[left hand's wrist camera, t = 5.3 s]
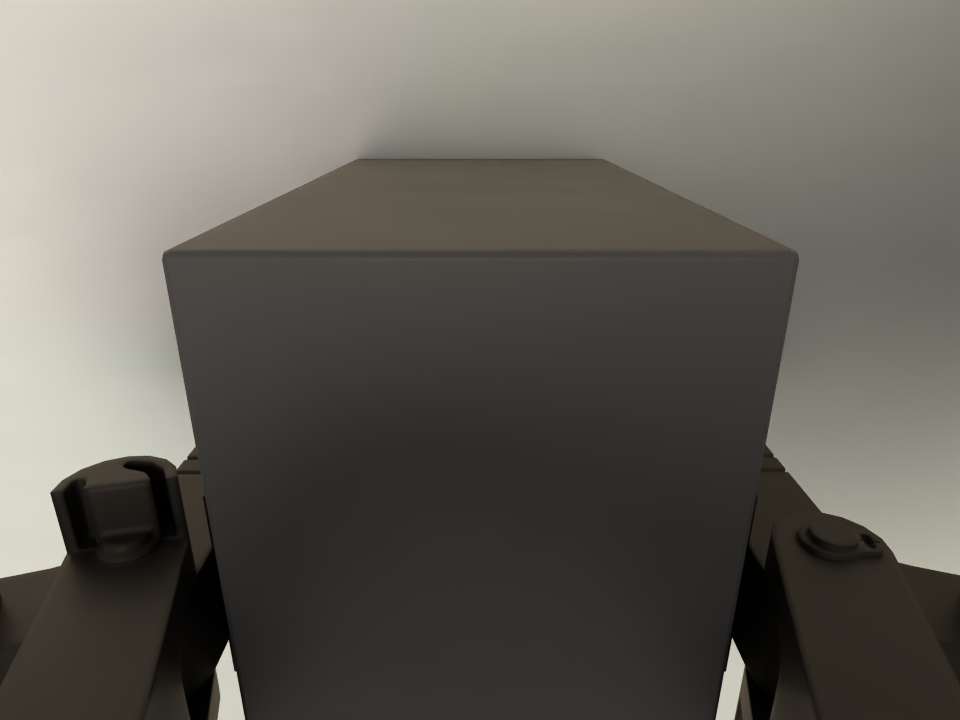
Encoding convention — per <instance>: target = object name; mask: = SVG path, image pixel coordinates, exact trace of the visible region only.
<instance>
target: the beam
mask: <svg viewBox="0 0 960 720" xmlns="http://www.w3.org/2000/svg"><path fill="white" fill-rule="evenodd" d="M162 262H163V267H164V273H165V278H166V284H167V289H168V295H169V300H170V306H171V311H172V317H173V322H174V328H175V333H176V339H177V344H178V350H179V356H180V361H181V367H182V372H183V378H184V383H185V389H186V394H187V400H188V405H189V411H190V416H191V422H192V427H193V433H194V439H195V444H196V450H197V455H198V461H199V466H200V472H201V477H202V483H203V488H204V494H205V499H206V505H207V510H208V516H209V521H210V527H211V533H212V538H213V544H214V549H215V555H216V560H217V566H218V571H219V577H220V582H221V588H222V593H223V599H224V604H225V610H226V616H227V621H228V627H229V632H230V638H231V643H232V649H233V654H234V660H235V665H236V671H237V676H238V682H239V687H240V693H241V698H242V704H243V710H244V715H245V720H715V719H716V713H717V708H718V702H719V697H720V691H721V686H722V680H723V675H724V669H725V664H726V658H727V653H728V647H729V642H730V636H731V631H732V625H733V620H734V614H735V609H736V603H737V598H738V592H739V587H740V581H741V576H742V570H743V565H744V559H745V554H746V548H747V543H748V537H749V532H750V526H751V521H752V515H753V510H754V504H755V499H756V493H757V488H758V482H759V476H760V471H761V465H762V460H763V454H764V449H765V443H766V438H767V432H768V427H769V421H770V416H771V410H772V405H773V399H774V394H775V388H776V383H777V377H778V372H779V366H780V361H781V355H782V350H783V344H784V339H785V333H786V328H787V322H788V317H789V311H790V306H791V300H792V295H793V289H794V284H795V278H796V273H797V267H798V262H799V259H798V254H797V252H796V251H794V250H792V249H790V248H787V247H785V246H783V245H781V244H779V243H777V242H775V241H773V240H771V239H769V238H767V237H764V236H762V235H760V234H758V233H756V232H754V231H752V230H750V229H748V228H746V227H744V226H741V225H739V224H737V223H735V222H733V221H731V220H729V219H727V218H725V217H723V216H721V215H718V214H716V213H714V212H712V211H710V210H708V209H706V208H704V207H702V206H700V205H698V204H695V203H693V202H691V201H689V200H687V199H685V198H683V197H681V196H679V195H677V194H675V193H672V192H670V191H668V190H666V189H664V188H662V187H660V186H658V185H656V184H654V183H652V182H649V181H647V180H645V179H643V178H641V177H639V176H637V175H635V174H633V173H631V172H629V171H626V170H624V169H622V168H620V167H618V166H616V165H614V164H612V163H610V162H608V161H605V160H355V161H353V162H351V163H349V164H347V165H345V166H342V167H340V168H338V169H336V170H334V171H332V172H330V173H328V174H326V175H324V176H322V177H320V178H317V179H315V180H313V181H311V182H309V183H307V184H305V185H303V186H301V187H299V188H297V189H294V190H292V191H290V192H288V193H286V194H284V195H282V196H280V197H278V198H276V199H274V200H272V201H269V202H267V203H265V204H263V205H261V206H259V207H257V208H255V209H253V210H251V211H249V212H246V213H244V214H242V215H240V216H238V217H236V218H234V219H232V220H230V221H228V222H226V223H223V224H221V225H219V226H217V227H215V228H213V229H211V230H209V231H207V232H205V233H203V234H201V235H198V236H196V237H194V238H192V239H190V240H188V241H186V242H184V243H182V244H180V245H178V246H175V247H173V248H171V249H169V250H167V251H165V252H164V254H163V259H162Z"/></svg>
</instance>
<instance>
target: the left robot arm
mask: <svg viewBox="0 0 960 720" xmlns="http://www.w3.org/2000/svg"><path fill="white" fill-rule="evenodd" d="M50 494H51V497H52V501H53V504H54V508H55V511H56V515H57V518H58V522H59V525H60V529H61V533H62V536H63V540H64V543H65V547H66V550H67V555H66V557H65V559H64V561H63V563H62V565H61V566H59V567H55V568H51V569H46V570H41V571H36V572H31V573H26V574H21V575H16V576H11V577H6V578H1V579H0V720H217V718H218V710H219V702H220V691H219V684H218V679H217V674H216V666H217V664H218V662H219V659H220V657H221V655H222V653H223V651H224V649H225V647H226V644H227V642H228V640H229V643H230V649H231V654H232V660H233V665H234V671H236V665H235V660H234V654H233V649H232V643H231V638H230V632H229V627H228V621H227V616H226V610H225V604H224V599H223V593H222V588H221V582H220V577H219V571H218V566H217V560H216V555H215V549H214V544H213V538H212V533H211V527H210V521H209V516H208V510H207V505H206V499H205V494H204V488H203V483H202V477H201V472H200V466H199V461H198V455H197V450H196V447H195V448H194V449H193V451H192V452H191V453H190V454H189V456H188V459H187V460H184V462H183V463H182V464H181V465H180V467H179V468H178V469H176V466H175V465H173V464H172V463H171V462H169V461H168V460H166V459H162V458H158V457H153V456H128V457H123V458H118V459H113V460H108V461H104V462H101V463H98V464H95V465H92V466H90V467H87V468H84V469H81V470H80V471H78V472H76V473H74V474H73V475H71V476H69V477H68V478H66V479H64V480H62V481H61V482H60V483H59V484H58V485H57V486H56V487H55V488H54V489H53V490H52V491H51V493H50ZM732 638H733V640H734V642H735V644H736V646H737V649H738V651H739V653H740V655H741V657H742V659H743V661H744V663H745V668H744V674H743V679H742V684H741V689H740V694H739V699H738V704H737V709H736V714H735V719H734V720H960V575H955V574H950V573H945V572H940V571H935V570H929V569H924V568H919V567H914V566H910V565H906V564H902V563H898V562H897V560H896V558H895V556H894V554H893V552H892V551H891V549H890V548H889V547H888V546H887V545H886V543H885V542H884V541H883V540H882V539H881V538H880V537H878V536H877V535H875V534H874V533H872V532H871V531H870V530H868V529H867V528H865V527H864V526H861V525H859V524H856V523H854V522H852V521H849V520H847V519H845V518H842V517H838V516H834V515H830V514H825V513H821V511H820V510H819V509H818V508H817V506H816V505H815V504H814V503H813V502H812V500H811V499H810V498H809V497H808V496H807V494H806V493H805V492H804V491H803V490H802V488H801V487H800V486H799V485H798V484H797V482H796V481H795V480H794V479H793V477H792V476H791V475H790V474H789V473H788V472H785V468H784V467H783V465H782V464H781V463H780V462H779V461H778V459H777V458H774V457H773V453H772V452H771V451H770V450H769V448H768V447H767V446H766V445H765V449H764V454H763V460H762V465H761V471H760V476H759V482H758V488H757V493H756V499H755V504H754V510H753V515H752V521H751V526H750V532H749V537H748V543H747V548H746V554H745V559H744V565H743V570H742V576H741V581H740V587H739V592H738V598H737V603H736V609H735V614H734V620H733V625H732V631H731V636H730V642H729V647H728V653H727V658H726V664H725V669H724V671H726V668H727V662H728V657H729V651H730V646H731V640H732Z"/></svg>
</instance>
